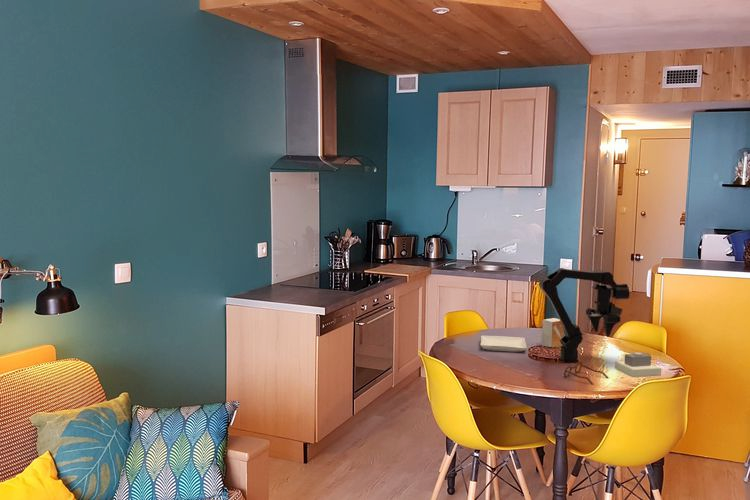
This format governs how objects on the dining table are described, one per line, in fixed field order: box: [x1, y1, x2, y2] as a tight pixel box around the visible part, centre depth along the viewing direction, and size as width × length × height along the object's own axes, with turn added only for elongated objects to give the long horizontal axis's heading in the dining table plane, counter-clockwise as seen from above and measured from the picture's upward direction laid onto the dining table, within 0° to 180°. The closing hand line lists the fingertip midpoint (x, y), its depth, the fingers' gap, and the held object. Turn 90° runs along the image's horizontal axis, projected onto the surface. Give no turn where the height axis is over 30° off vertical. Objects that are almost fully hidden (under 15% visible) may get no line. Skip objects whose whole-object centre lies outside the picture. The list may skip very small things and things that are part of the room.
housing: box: [624, 351, 652, 367], centre depth 272 cm, size 5×9×5 cm, turn 106°
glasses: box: [563, 361, 610, 386], centre depth 262 cm, size 13×13×5 cm
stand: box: [614, 360, 662, 378], centre depth 272 cm, size 13×13×3 cm
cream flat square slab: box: [480, 335, 528, 353], centre depth 312 cm, size 21×21×3 cm
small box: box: [541, 317, 564, 348], centre depth 313 cm, size 8×6×13 cm
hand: (602, 334), depth 287 cm, fingers open, 9 cm apart
